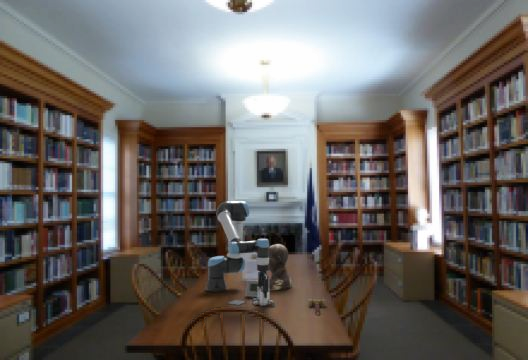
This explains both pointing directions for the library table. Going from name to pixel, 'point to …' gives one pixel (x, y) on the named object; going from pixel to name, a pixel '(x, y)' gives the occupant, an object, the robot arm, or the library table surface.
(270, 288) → the portrait bust
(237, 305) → the pad
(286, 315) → the library table surface
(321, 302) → the gavel
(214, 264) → the robot arm
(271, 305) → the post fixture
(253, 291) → the digital clock
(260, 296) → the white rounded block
